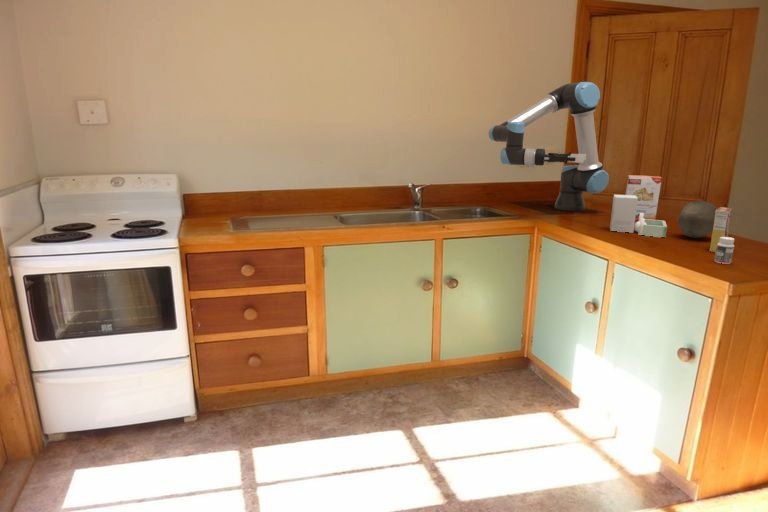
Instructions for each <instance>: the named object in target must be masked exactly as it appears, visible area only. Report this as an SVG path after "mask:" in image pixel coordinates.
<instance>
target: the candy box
mask: <svg viewBox="0 0 768 512" xmlns="http://www.w3.org/2000/svg"><path fill="white" fill-rule="evenodd" d="M732 211H733V208H732V207H722V206H720V207H718V208H717V210H716V212H715V219H714V225H713V231H712V232H711V240H710V246H709V252H710V251H711V252H710V253H716V249H717V244H718V243H719V242H720V241H719V240H720V237H729V236H728V235H729V229H730V224H731V217H732Z"/></svg>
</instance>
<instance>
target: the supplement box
mask: <svg viewBox="0 0 768 512" xmlns="http://www.w3.org/2000/svg"><path fill="white" fill-rule="evenodd" d="M637 201H638V198H637V197H636V196H635V195H625V194H615V193H614V194H613V198H612V207H611V213H610V215H611V216H610V223H609V230H610V232H611V231H617V232H616V233H625V232H629V234H634V231H635V229H634V225H635V223H636V220H635V217H636V209H637Z"/></svg>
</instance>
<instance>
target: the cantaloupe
mask: <svg viewBox="0 0 768 512" xmlns="http://www.w3.org/2000/svg"><path fill="white" fill-rule="evenodd" d="M717 209H718V208H717V206H715V204H712V203H710V202H708V201H705V200H704V201H703V200H695V201H691V202H689V203H687V204H686V205H684V207H683V208H682V210H681V212H680V214H679V216H678V225H679V228H680V231H681V232H682V234H684V235H686V237H689V238H691V239H699V238H703V237H706V236H708V235H710V234H712V231H713V225H714V219H715V212H716V210H717Z"/></svg>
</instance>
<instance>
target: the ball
mask: <svg viewBox="0 0 768 512" xmlns="http://www.w3.org/2000/svg"><path fill="white" fill-rule="evenodd" d="M639 225H640V221H638V220H637V221H635V224H634V231H635V232H636V233H638V232H639ZM644 225H647V224H646V223H645V222H644Z"/></svg>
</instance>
